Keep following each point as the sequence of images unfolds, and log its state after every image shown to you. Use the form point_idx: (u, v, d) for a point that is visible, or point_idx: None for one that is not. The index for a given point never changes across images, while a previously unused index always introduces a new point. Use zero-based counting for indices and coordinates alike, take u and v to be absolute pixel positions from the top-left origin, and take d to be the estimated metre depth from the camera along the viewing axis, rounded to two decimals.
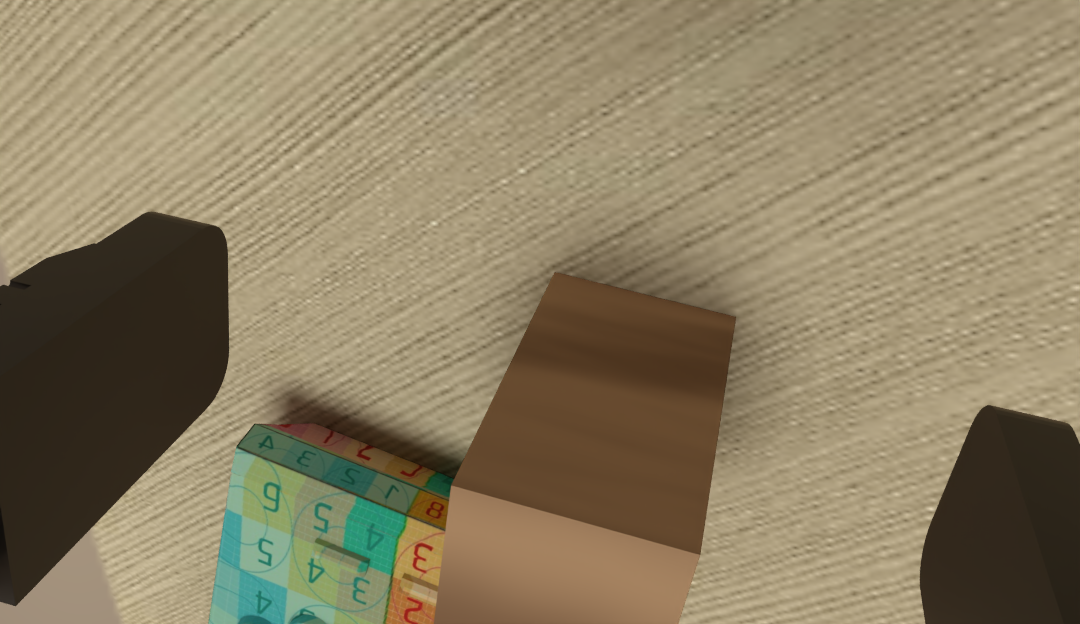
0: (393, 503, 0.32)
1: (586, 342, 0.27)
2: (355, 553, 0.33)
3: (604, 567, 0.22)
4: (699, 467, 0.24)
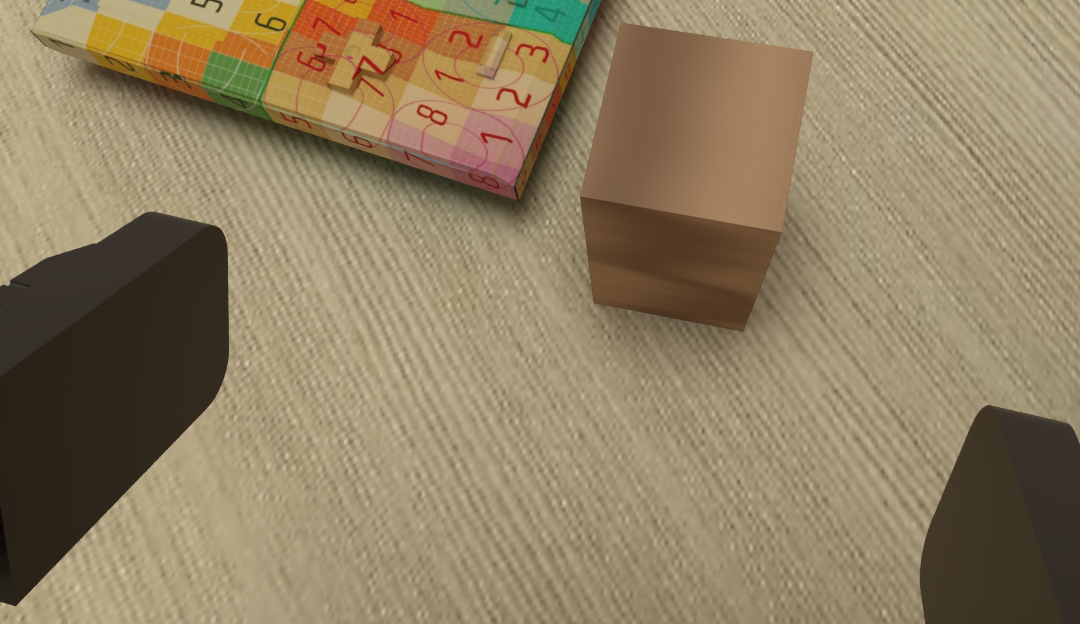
0: (579, 36, 0.37)
1: None
2: None
3: (752, 161, 0.28)
4: None
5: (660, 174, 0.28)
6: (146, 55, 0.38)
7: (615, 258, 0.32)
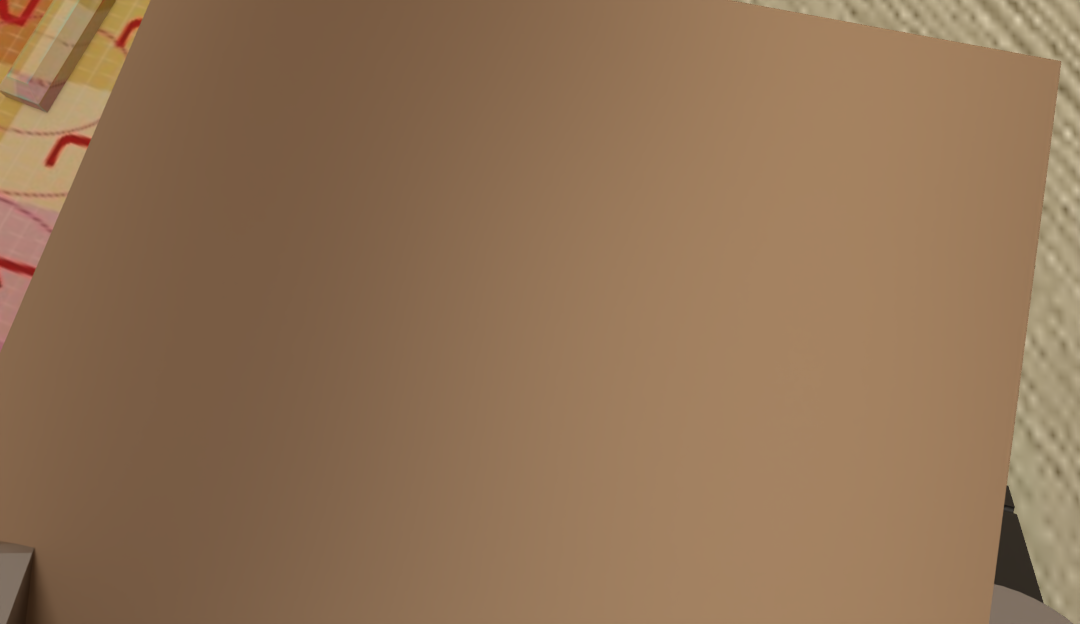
0: None
1: None
2: None
3: None
4: None
5: None
6: None
7: None
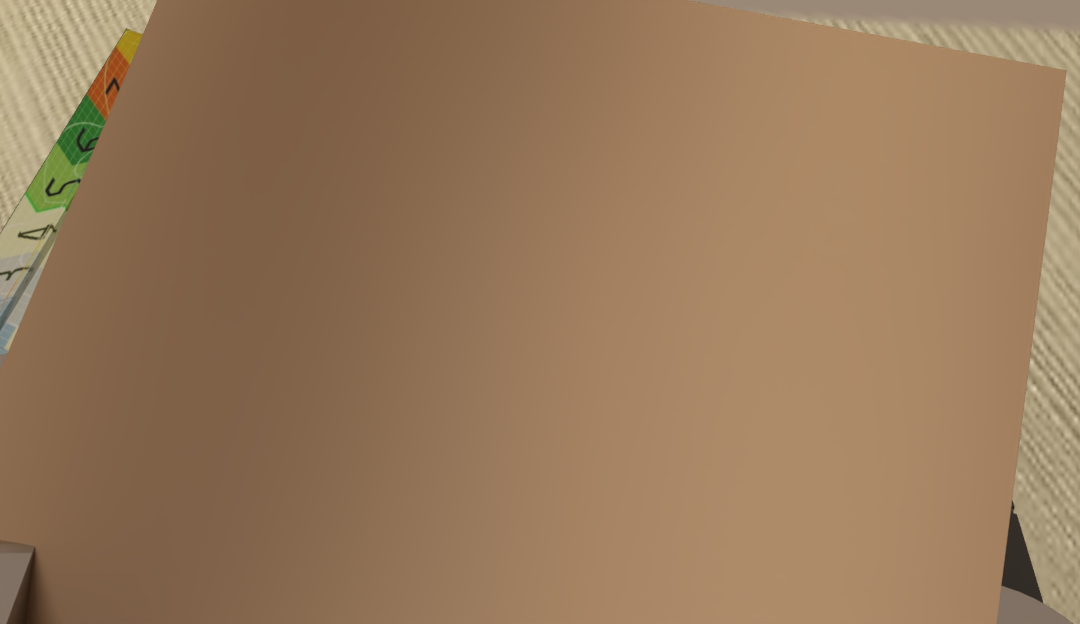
0: None
1: None
2: None
3: None
4: None
5: None
6: None
7: None
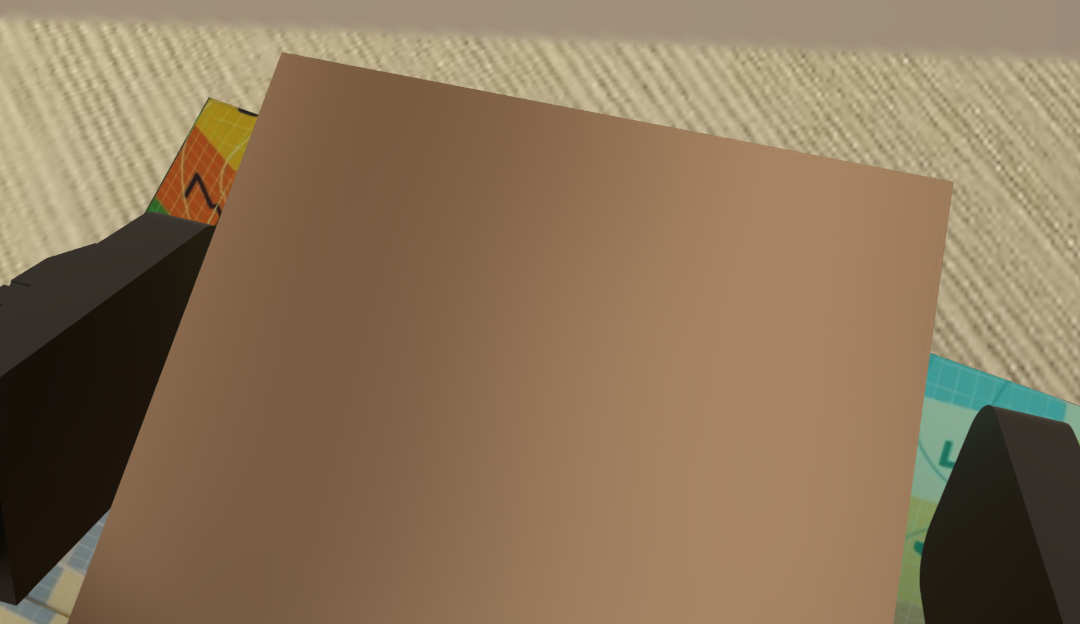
0: None
1: None
2: None
3: None
4: None
5: None
6: None
7: None
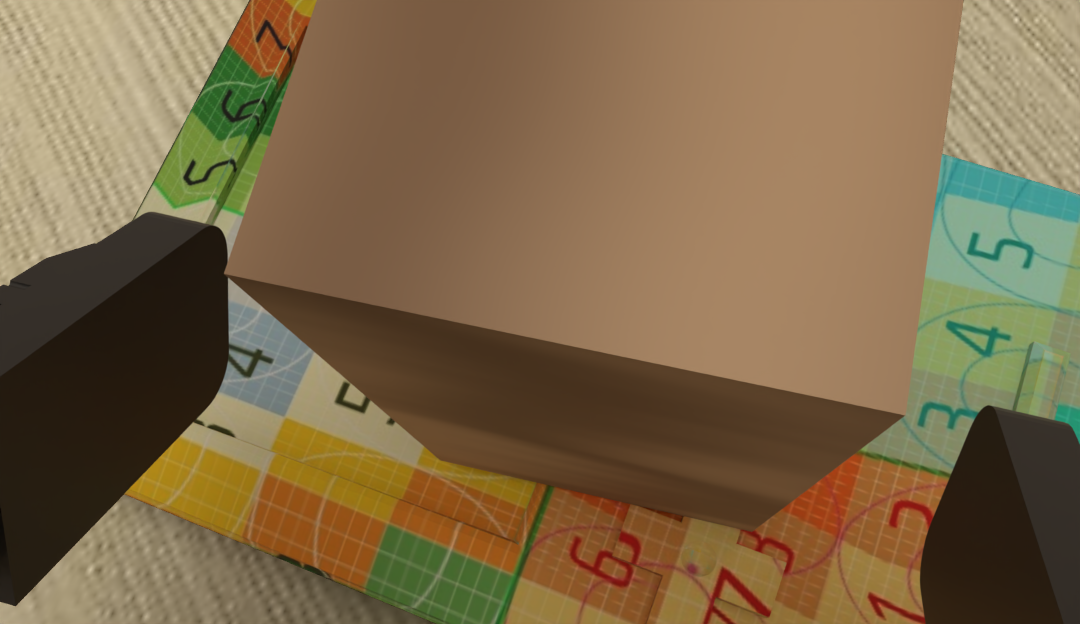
0: None
1: None
2: None
3: (800, 163, 0.08)
4: None
5: (491, 202, 0.08)
6: (249, 521, 0.18)
7: (433, 410, 0.13)
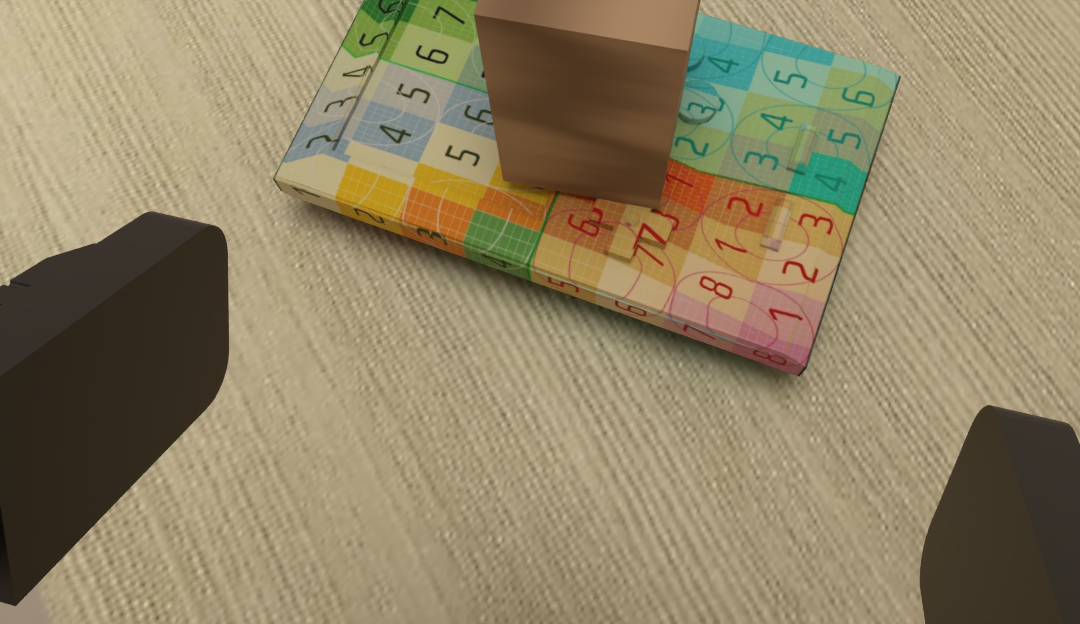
0: (858, 205, 0.36)
1: (688, 61, 0.33)
2: (808, 162, 0.36)
3: None
4: (679, 96, 0.28)
5: None
6: (403, 211, 0.36)
7: (519, 109, 0.30)
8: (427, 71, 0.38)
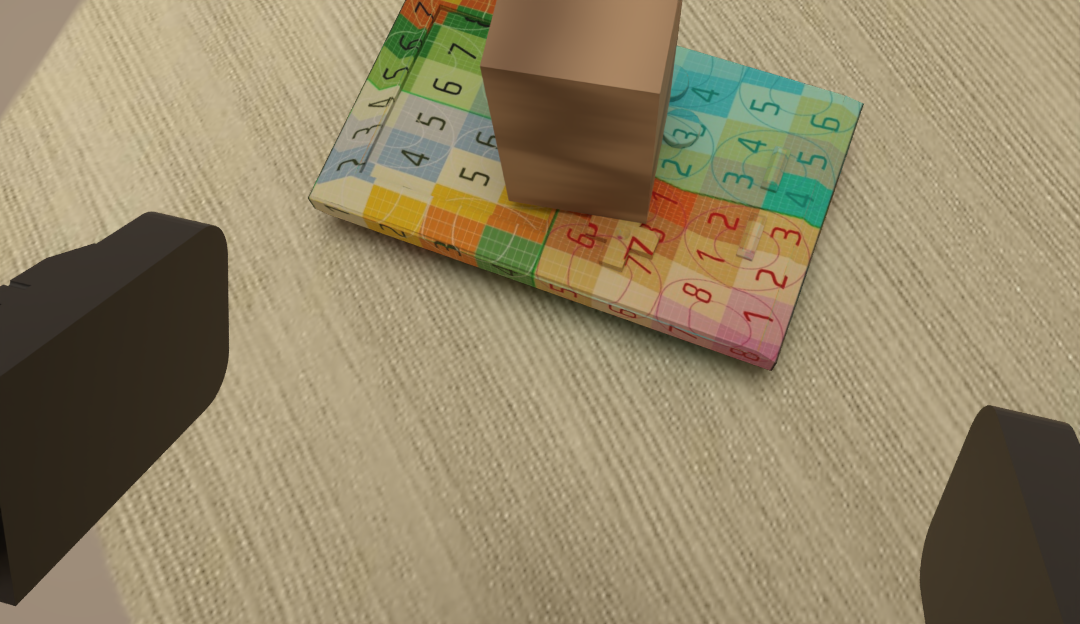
0: (824, 219, 0.40)
1: None
2: (780, 182, 0.40)
3: (635, 33, 0.31)
4: (656, 129, 0.33)
5: (552, 45, 0.31)
6: (422, 226, 0.41)
7: (520, 141, 0.35)
8: (443, 101, 0.43)
